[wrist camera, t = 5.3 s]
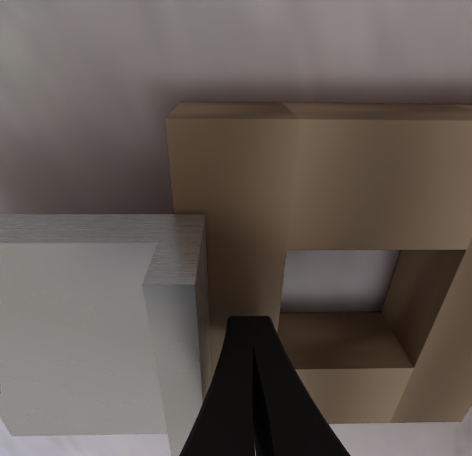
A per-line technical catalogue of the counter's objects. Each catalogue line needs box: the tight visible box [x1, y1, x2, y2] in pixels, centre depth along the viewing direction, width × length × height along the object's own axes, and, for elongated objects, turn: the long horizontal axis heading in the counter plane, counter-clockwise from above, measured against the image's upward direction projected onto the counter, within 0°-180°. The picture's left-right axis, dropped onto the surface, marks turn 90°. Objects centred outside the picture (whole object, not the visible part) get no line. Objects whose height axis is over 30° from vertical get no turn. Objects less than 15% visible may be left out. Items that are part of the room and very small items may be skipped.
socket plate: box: [165, 102, 472, 424], centre depth 12 cm, size 12×13×3 cm
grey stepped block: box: [0, 214, 212, 456], centre depth 9 cm, size 7×8×3 cm
